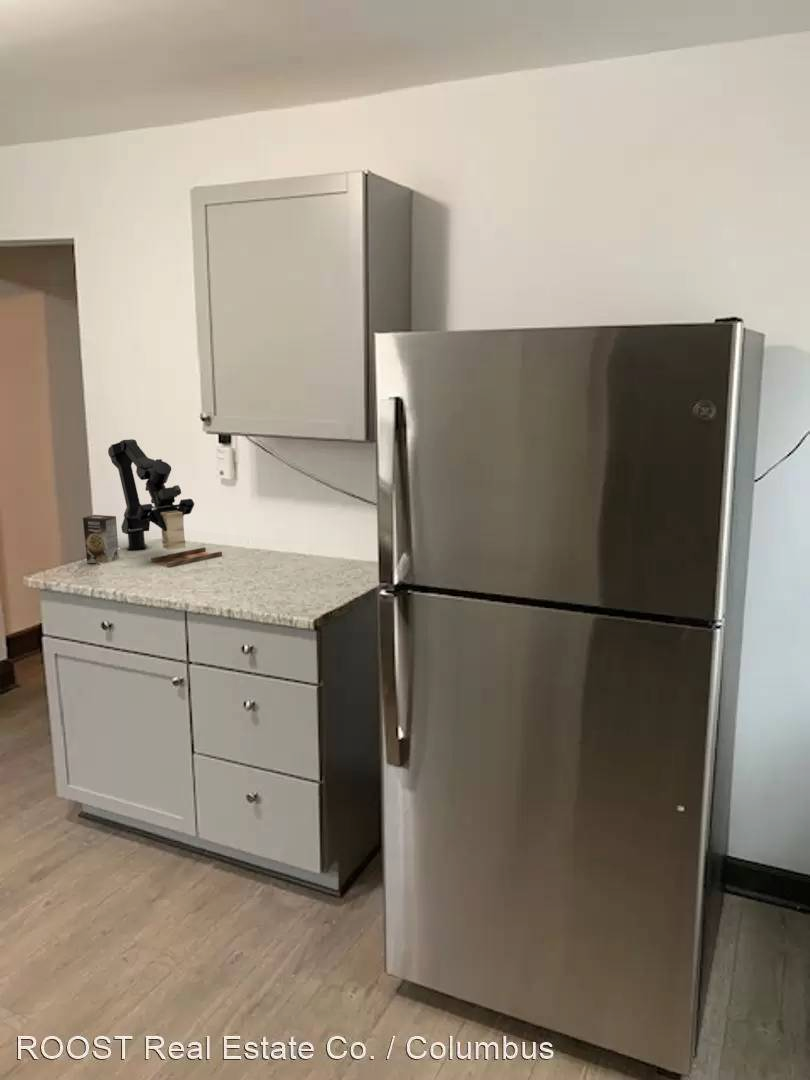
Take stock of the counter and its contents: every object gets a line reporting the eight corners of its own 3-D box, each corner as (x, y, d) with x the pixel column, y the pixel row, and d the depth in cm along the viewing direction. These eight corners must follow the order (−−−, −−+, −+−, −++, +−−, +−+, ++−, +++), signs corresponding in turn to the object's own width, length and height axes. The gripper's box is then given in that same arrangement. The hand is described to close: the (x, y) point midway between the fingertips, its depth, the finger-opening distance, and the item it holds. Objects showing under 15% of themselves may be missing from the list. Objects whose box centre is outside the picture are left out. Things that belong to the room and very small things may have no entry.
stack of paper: (162, 547, 283) (159, 512, 281) (178, 545, 286) (175, 510, 284) (169, 550, 279) (166, 514, 276) (185, 547, 282) (182, 512, 280)
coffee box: (86, 563, 287) (81, 517, 283) (98, 559, 293) (93, 514, 289) (108, 565, 284) (104, 518, 281) (120, 561, 290) (116, 515, 287)
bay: (169, 570, 276) (168, 563, 276) (151, 565, 284) (150, 558, 283) (222, 558, 291) (222, 551, 291) (204, 554, 299) (203, 547, 298)
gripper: (137, 481, 275) (153, 518, 269) (190, 475, 286) (206, 511, 280) (129, 501, 283) (145, 538, 277) (181, 495, 294) (197, 530, 288)
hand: (174, 529), depth 280 cm, fingers closed on stack of paper, 5 cm apart
